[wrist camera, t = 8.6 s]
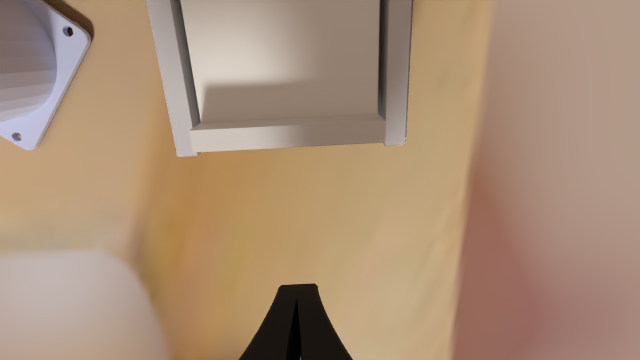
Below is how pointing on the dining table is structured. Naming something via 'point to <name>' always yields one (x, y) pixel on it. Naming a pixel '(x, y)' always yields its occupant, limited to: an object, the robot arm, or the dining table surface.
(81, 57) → the robot arm
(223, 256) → the dining table surface
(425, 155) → the dining table surface
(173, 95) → the housing
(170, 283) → the dining table surface
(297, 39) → the lid
